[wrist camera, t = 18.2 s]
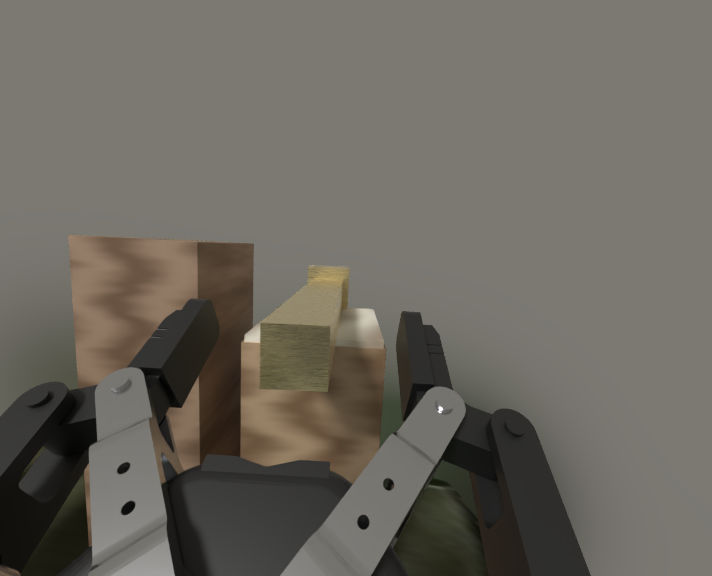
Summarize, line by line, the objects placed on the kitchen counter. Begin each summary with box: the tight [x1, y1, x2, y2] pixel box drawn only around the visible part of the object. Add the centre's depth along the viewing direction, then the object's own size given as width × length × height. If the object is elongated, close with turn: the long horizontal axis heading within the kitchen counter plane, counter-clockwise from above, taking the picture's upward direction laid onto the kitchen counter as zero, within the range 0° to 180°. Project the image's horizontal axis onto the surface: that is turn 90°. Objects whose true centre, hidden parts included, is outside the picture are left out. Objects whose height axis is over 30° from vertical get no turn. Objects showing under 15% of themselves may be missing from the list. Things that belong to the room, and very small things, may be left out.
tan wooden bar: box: [259, 265, 350, 392], centre depth 29 cm, size 5×26×5 cm, turn 1°
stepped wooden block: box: [68, 235, 386, 547], centre depth 34 cm, size 26×14×36 cm, turn 91°
